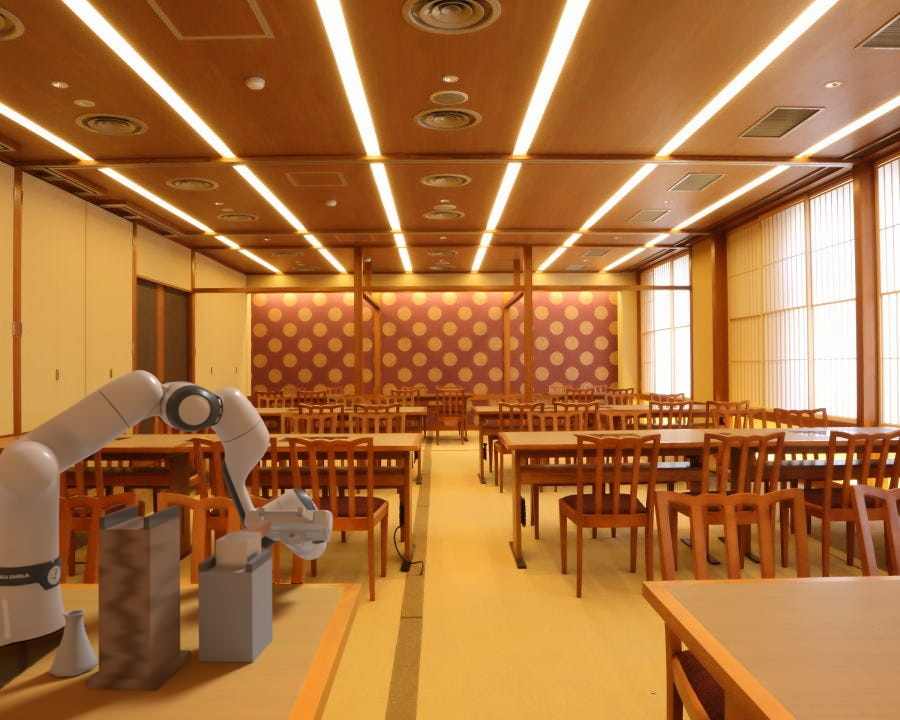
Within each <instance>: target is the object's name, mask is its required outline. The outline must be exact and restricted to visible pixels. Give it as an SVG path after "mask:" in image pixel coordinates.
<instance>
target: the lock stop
mask: <svg viewBox="0 0 900 720" xmlns="http://www.w3.org/2000/svg"><path fill="white" fill-rule="evenodd" d="M269 533H271V520H259V521H257V522H256V523H254V524H252V525H251V526H249V527H247V528H246V529H244V530H243V529H242V530H240V531H230V532H229V533H226V534H224V535H223V536H221V537H220V538H217V539H216V540H215V553H216V568H246V563H248V562H249V561H250V560H252V559H253V558H255V557H256V556H257V555H259V554H260V553H262V549H261V539H262V538H263V537H265V536H266V535H268V534H269Z"/></svg>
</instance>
